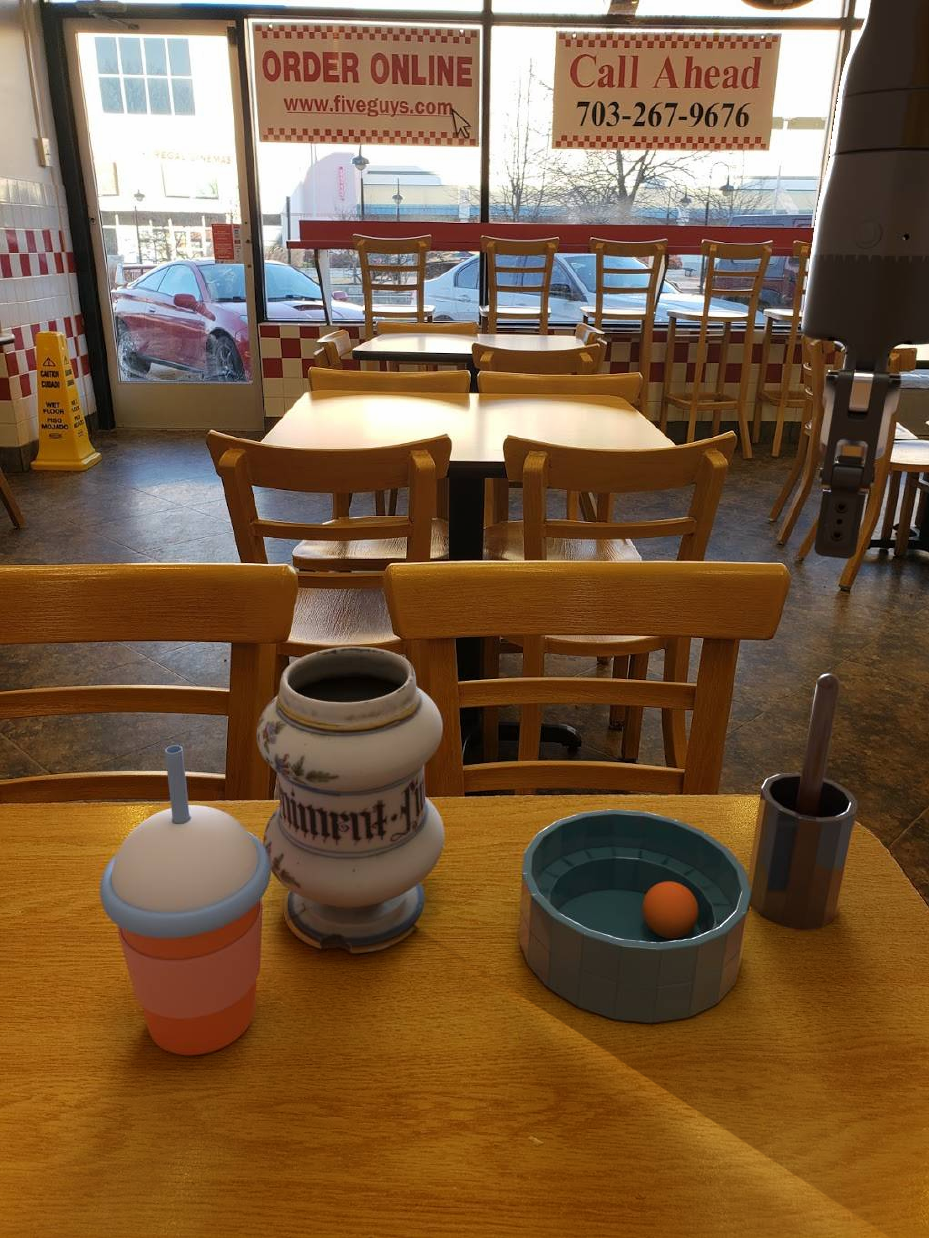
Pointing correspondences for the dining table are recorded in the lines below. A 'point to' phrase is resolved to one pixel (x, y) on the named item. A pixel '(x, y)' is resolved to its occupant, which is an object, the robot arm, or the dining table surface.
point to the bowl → (630, 915)
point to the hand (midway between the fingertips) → (837, 536)
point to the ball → (670, 910)
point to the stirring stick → (817, 745)
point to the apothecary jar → (351, 797)
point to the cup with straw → (190, 919)
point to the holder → (800, 853)
